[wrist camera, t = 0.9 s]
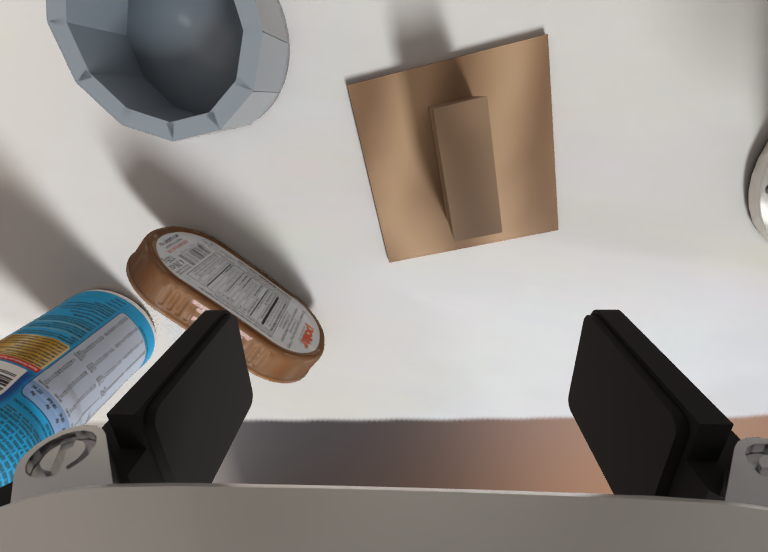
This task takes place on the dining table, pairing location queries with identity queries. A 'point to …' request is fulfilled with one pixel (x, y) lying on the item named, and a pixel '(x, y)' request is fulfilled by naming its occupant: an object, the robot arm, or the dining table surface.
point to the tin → (227, 299)
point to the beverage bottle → (67, 368)
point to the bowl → (175, 60)
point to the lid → (461, 149)
